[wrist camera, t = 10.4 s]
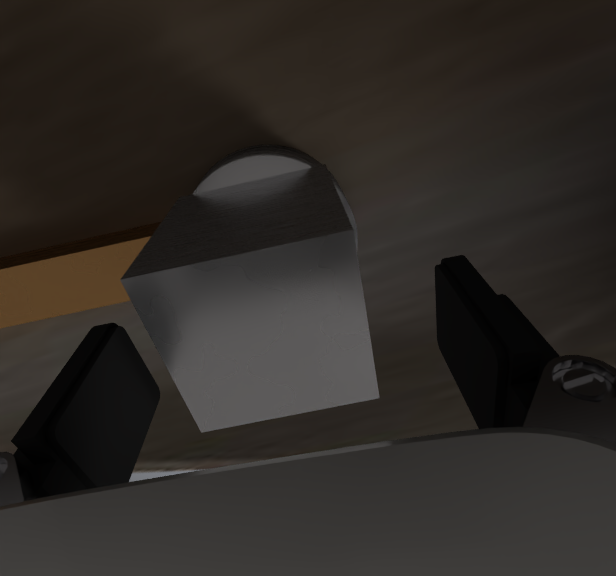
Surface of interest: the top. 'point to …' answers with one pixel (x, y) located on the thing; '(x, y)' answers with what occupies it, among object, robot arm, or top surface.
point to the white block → (257, 300)
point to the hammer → (120, 248)
